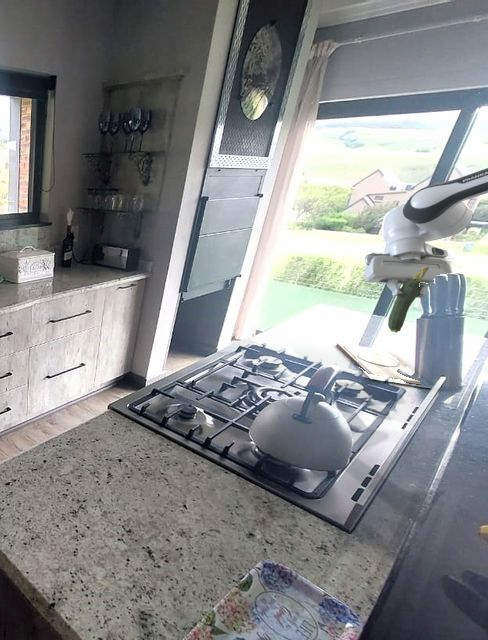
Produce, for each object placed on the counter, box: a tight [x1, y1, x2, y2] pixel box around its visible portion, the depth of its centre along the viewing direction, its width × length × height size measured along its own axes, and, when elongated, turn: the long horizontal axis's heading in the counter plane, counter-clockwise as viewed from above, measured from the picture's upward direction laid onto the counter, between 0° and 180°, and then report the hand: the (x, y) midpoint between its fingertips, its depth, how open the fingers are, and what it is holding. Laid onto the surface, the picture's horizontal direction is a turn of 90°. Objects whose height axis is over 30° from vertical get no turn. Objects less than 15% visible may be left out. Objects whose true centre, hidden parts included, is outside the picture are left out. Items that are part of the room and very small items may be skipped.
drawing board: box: [335, 343, 422, 385], centre depth 125 cm, size 14×26×1 cm, turn 160°
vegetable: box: [387, 266, 429, 334], centre depth 119 cm, size 4×4×20 cm
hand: (409, 296), depth 118 cm, fingers closed on vegetable, 4 cm apart
